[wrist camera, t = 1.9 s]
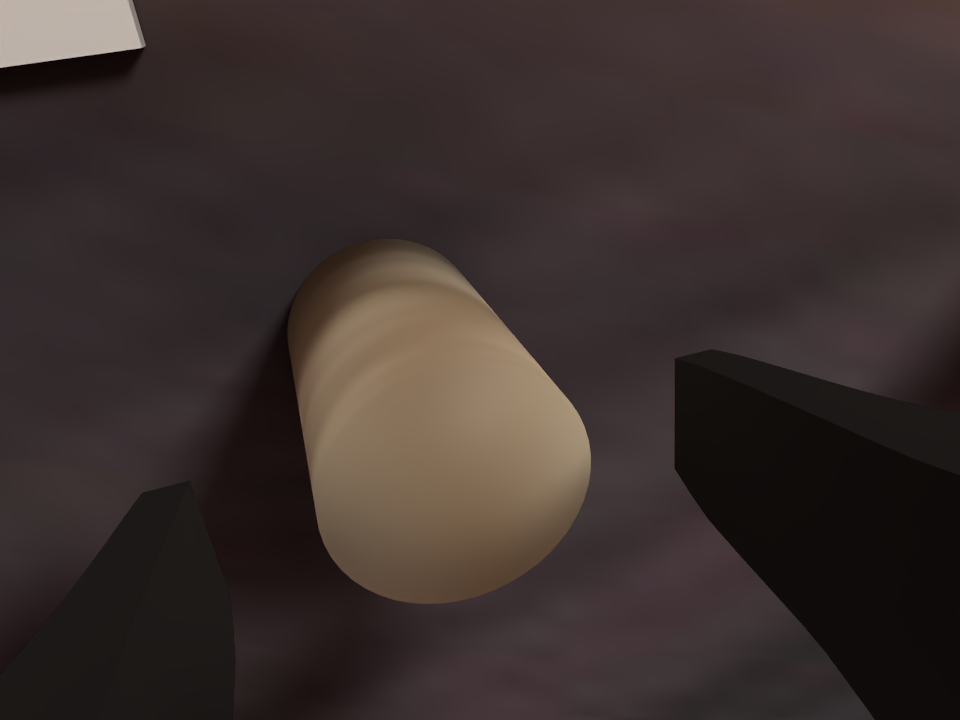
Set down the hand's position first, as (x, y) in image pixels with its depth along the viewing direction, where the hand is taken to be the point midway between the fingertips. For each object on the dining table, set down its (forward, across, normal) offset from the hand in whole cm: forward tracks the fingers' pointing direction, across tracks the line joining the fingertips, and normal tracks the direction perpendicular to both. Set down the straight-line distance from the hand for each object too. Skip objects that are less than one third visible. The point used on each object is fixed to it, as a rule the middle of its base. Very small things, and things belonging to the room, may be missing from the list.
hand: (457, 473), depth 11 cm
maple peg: (+6, 0, 0) cm, 6 cm away
